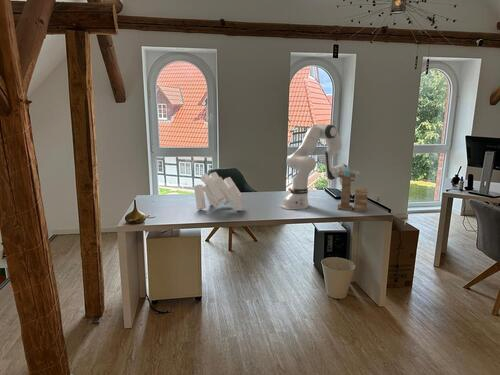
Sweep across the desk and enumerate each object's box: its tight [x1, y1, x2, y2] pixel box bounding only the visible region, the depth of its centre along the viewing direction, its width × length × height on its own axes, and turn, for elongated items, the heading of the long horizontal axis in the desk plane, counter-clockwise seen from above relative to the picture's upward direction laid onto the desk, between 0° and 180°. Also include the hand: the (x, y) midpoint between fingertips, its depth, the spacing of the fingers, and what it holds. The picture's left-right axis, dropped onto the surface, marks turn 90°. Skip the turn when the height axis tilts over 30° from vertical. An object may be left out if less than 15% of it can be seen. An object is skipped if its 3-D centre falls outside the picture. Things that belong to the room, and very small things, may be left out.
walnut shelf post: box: [337, 173, 355, 211], centre depth 260 cm, size 10×12×26 cm
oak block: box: [353, 187, 369, 213], centre depth 259 cm, size 12×8×15 cm, turn 166°
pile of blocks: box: [193, 171, 244, 212], centre depth 263 cm, size 35×30×35 cm
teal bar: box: [344, 166, 351, 177], centre depth 259 cm, size 22×4×4 cm, turn 166°
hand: (346, 170), depth 268 cm, fingers open, 8 cm apart
